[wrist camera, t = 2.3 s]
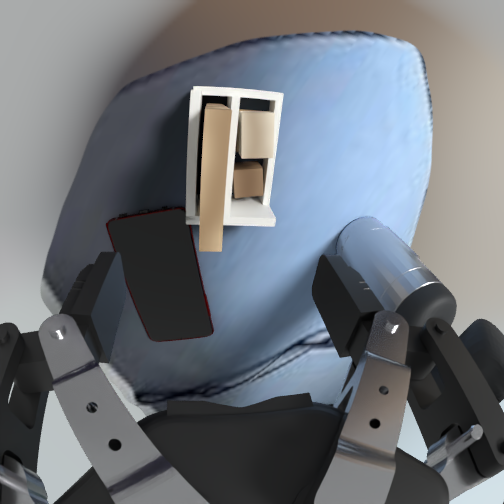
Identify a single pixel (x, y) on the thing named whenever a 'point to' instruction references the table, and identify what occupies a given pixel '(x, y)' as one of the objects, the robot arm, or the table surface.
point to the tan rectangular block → (214, 175)
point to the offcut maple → (256, 134)
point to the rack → (231, 160)
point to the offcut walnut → (247, 179)
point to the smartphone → (162, 273)
